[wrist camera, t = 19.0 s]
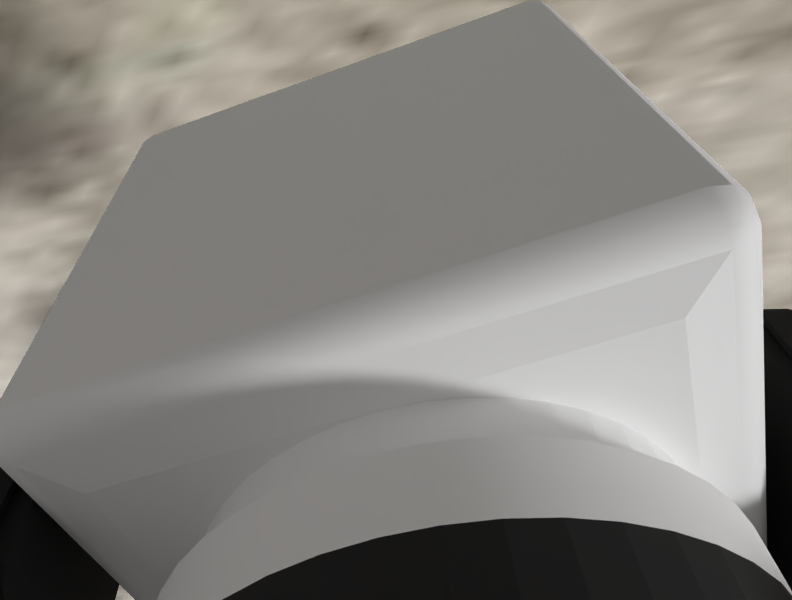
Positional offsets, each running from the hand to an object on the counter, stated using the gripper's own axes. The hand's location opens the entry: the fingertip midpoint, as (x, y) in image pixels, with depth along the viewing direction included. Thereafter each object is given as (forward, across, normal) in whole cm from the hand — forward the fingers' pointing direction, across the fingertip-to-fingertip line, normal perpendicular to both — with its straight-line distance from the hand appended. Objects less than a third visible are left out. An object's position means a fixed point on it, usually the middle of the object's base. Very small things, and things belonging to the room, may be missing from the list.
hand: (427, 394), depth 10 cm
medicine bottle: (+4, 0, 0) cm, 4 cm away
